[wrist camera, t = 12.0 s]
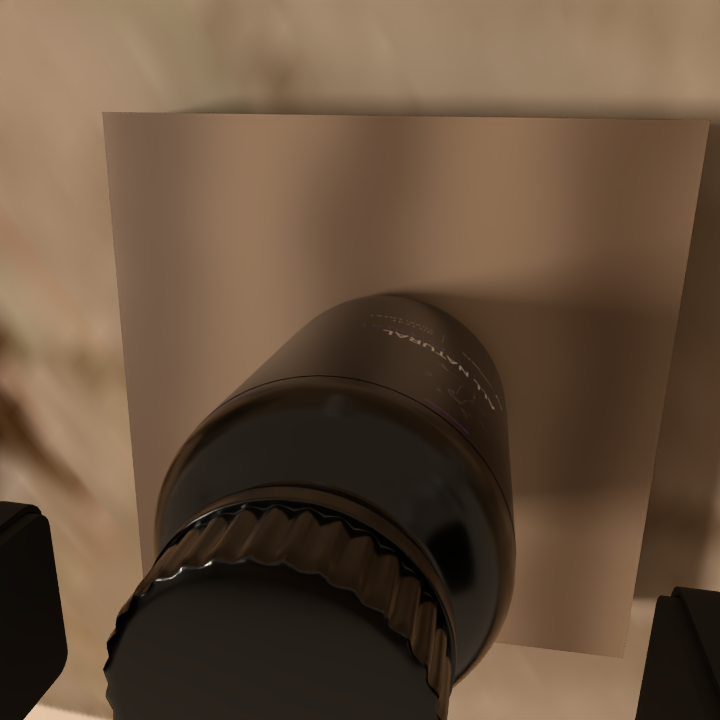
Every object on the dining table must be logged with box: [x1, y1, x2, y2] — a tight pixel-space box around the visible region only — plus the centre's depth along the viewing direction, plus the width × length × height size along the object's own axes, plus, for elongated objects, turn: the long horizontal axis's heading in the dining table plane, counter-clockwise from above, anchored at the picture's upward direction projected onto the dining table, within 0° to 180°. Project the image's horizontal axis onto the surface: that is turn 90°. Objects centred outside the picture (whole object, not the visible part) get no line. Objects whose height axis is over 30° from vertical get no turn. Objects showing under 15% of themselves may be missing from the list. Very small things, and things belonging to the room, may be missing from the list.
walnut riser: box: [102, 112, 710, 658], centre depth 22 cm, size 16×16×3 cm
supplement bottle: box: [103, 295, 516, 720], centre depth 15 cm, size 7×7×12 cm
